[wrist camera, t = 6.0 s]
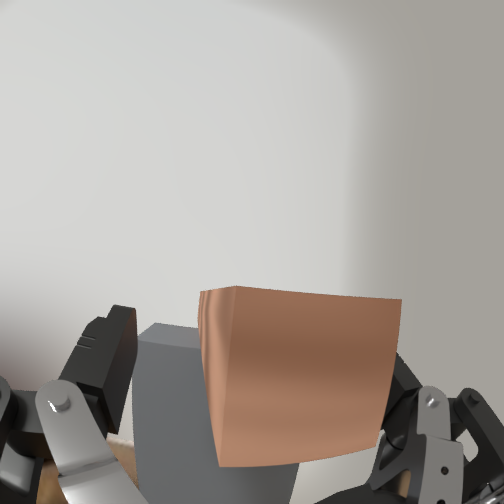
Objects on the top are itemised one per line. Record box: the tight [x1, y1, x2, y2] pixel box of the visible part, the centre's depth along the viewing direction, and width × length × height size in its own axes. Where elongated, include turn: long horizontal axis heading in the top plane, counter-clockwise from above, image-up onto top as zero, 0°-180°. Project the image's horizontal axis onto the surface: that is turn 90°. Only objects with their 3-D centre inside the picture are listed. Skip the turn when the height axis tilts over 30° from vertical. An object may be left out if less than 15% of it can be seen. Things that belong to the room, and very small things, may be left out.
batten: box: [198, 286, 402, 467], centre depth 16 cm, size 26×3×3 cm, turn 12°
